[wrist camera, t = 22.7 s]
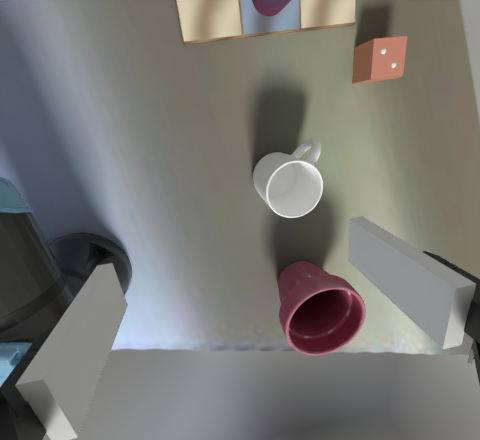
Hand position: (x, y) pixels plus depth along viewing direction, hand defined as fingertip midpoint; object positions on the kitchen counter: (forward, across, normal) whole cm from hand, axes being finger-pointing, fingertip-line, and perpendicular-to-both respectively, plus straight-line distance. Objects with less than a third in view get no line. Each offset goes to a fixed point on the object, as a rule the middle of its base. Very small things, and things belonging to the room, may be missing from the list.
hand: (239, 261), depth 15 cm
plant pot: (+32, +14, -26) cm, 43 cm away
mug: (+32, +12, -2) cm, 34 cm away
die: (+32, +27, +12) cm, 44 cm away
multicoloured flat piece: (+32, +12, +22) cm, 40 cm away
